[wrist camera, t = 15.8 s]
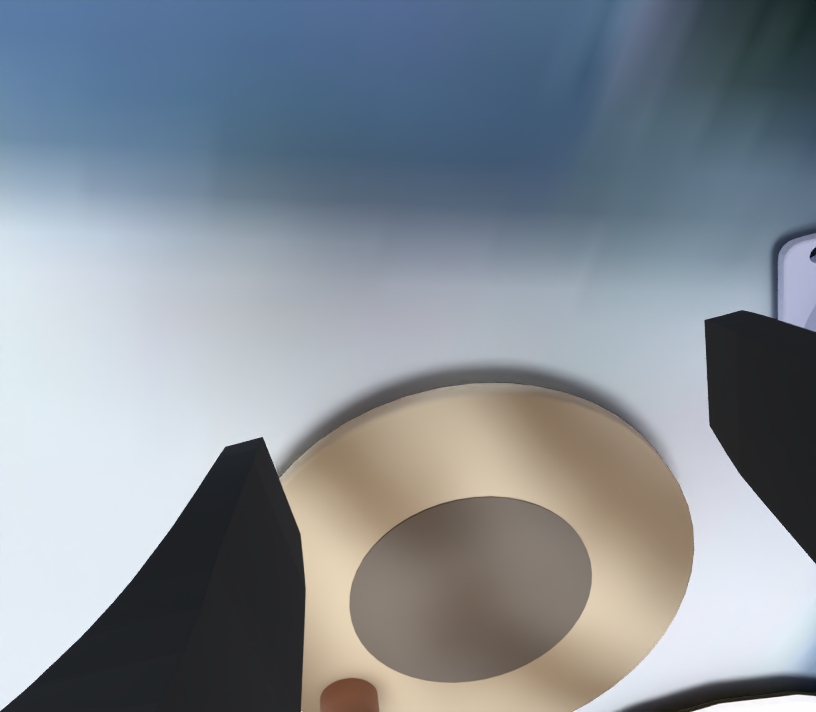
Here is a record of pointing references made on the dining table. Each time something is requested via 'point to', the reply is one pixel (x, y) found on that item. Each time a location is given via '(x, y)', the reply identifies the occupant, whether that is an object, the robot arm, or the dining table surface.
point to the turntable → (484, 553)
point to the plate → (761, 703)
